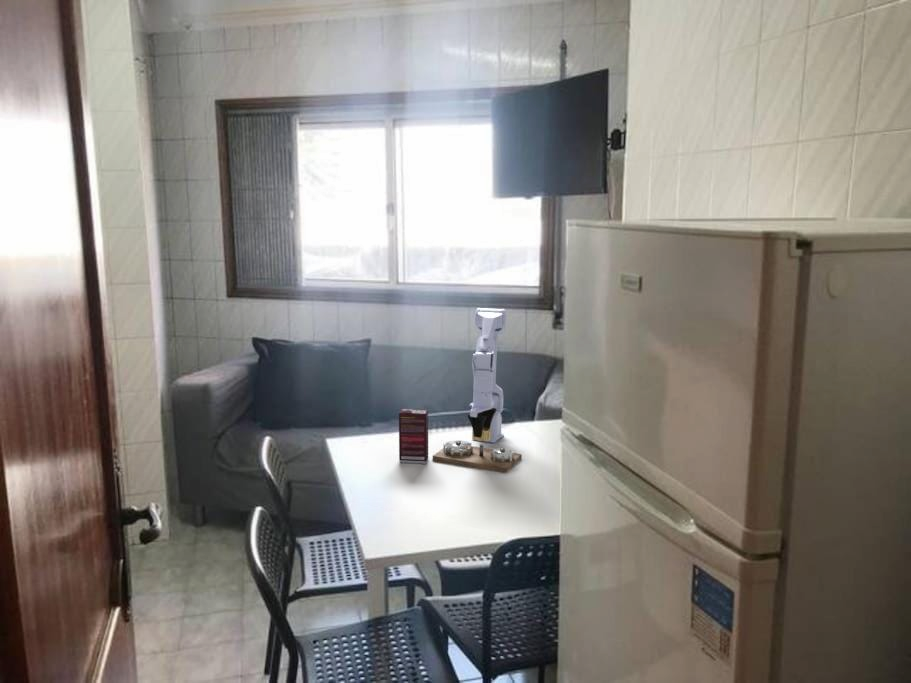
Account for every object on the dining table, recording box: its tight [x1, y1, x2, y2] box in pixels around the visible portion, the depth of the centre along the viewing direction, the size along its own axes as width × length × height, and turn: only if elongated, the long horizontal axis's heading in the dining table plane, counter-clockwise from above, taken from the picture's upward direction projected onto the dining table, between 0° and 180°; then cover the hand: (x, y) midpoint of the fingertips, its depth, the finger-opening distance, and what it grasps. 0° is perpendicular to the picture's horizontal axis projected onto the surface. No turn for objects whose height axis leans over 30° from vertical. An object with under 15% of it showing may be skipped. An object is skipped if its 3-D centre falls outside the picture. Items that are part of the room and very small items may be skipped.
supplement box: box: [398, 408, 429, 465], centre depth 230 cm, size 9×5×16 cm, turn 84°
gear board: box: [432, 439, 522, 474], centre depth 233 cm, size 14×24×5 cm, turn 66°
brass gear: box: [471, 427, 491, 442], centre depth 231 cm, size 6×6×3 cm
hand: (481, 434), depth 231 cm, fingers closed on brass gear, 6 cm apart
